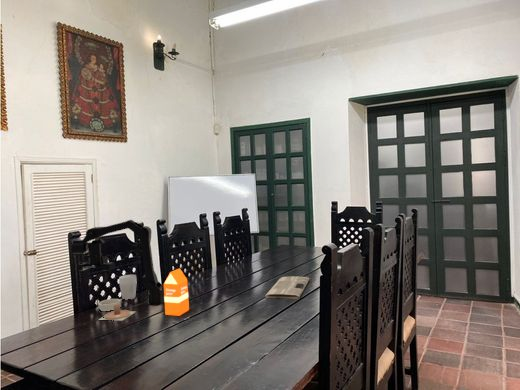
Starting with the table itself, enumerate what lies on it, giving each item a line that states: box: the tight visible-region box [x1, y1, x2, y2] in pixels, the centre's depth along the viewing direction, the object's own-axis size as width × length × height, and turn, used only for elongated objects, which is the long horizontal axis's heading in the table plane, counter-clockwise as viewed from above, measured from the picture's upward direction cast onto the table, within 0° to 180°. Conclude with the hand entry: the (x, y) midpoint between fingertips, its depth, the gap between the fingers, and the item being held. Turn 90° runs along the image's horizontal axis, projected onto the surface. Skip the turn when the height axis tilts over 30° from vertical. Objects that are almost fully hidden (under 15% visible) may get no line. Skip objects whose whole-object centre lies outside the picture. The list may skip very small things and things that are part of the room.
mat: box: [98, 310, 136, 322], centre depth 183 cm, size 12×12×1 cm
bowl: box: [97, 298, 122, 311], centre depth 195 cm, size 10×10×4 cm
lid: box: [103, 304, 131, 320], centre depth 183 cm, size 12×12×5 cm
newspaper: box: [264, 276, 310, 300], centre depth 216 cm, size 37×19×3 cm, turn 165°
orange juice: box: [163, 268, 190, 317], centre depth 184 cm, size 8×9×20 cm
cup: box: [118, 274, 137, 301], centre depth 212 cm, size 9×9×12 cm
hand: (96, 283), depth 198 cm, fingers open, 9 cm apart
